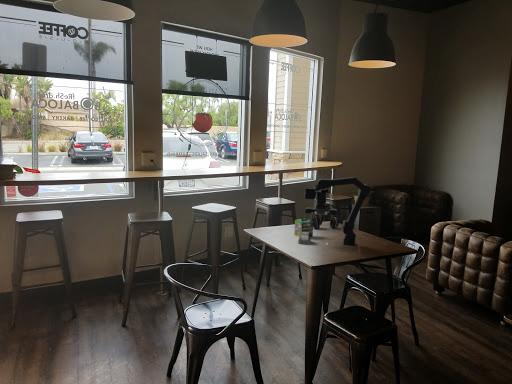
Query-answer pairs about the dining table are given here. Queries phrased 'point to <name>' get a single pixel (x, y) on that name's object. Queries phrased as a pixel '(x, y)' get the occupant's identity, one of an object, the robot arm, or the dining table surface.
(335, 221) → the headphones
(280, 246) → the dining table surface
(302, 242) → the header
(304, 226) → the chalk box
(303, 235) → the grey box
